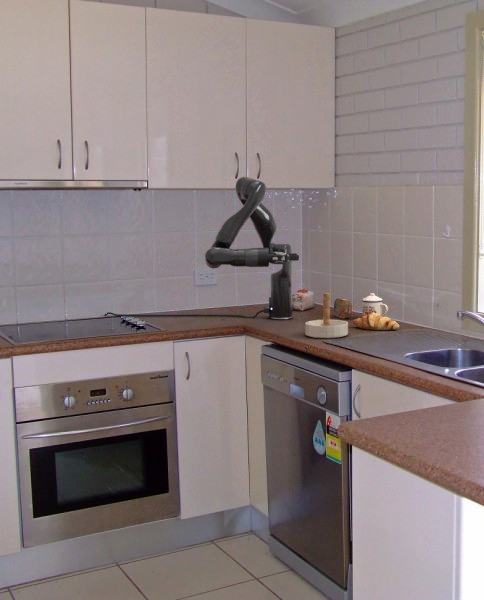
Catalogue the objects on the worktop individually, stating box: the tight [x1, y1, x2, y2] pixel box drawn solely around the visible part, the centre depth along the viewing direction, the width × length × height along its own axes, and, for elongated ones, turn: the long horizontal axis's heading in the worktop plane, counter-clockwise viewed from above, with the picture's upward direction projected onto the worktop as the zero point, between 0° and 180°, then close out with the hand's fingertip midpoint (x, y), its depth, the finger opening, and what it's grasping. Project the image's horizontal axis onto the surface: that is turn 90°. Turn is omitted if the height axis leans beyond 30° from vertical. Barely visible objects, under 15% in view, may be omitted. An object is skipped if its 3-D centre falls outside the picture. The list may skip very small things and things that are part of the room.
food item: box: [292, 288, 316, 312], centre depth 401 cm, size 14×8×10 cm, turn 158°
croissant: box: [351, 312, 400, 331], centre depth 343 cm, size 21×10×8 cm, turn 65°
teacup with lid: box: [361, 292, 389, 317], centre depth 367 cm, size 12×9×12 cm
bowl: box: [304, 319, 349, 339], centre depth 327 cm, size 17×17×5 cm
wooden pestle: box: [321, 292, 332, 326], centre depth 326 cm, size 4×4×16 cm
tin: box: [333, 297, 353, 320], centre depth 374 cm, size 15×3×8 cm, turn 25°
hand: (297, 256), depth 333 cm, fingers open, 8 cm apart
